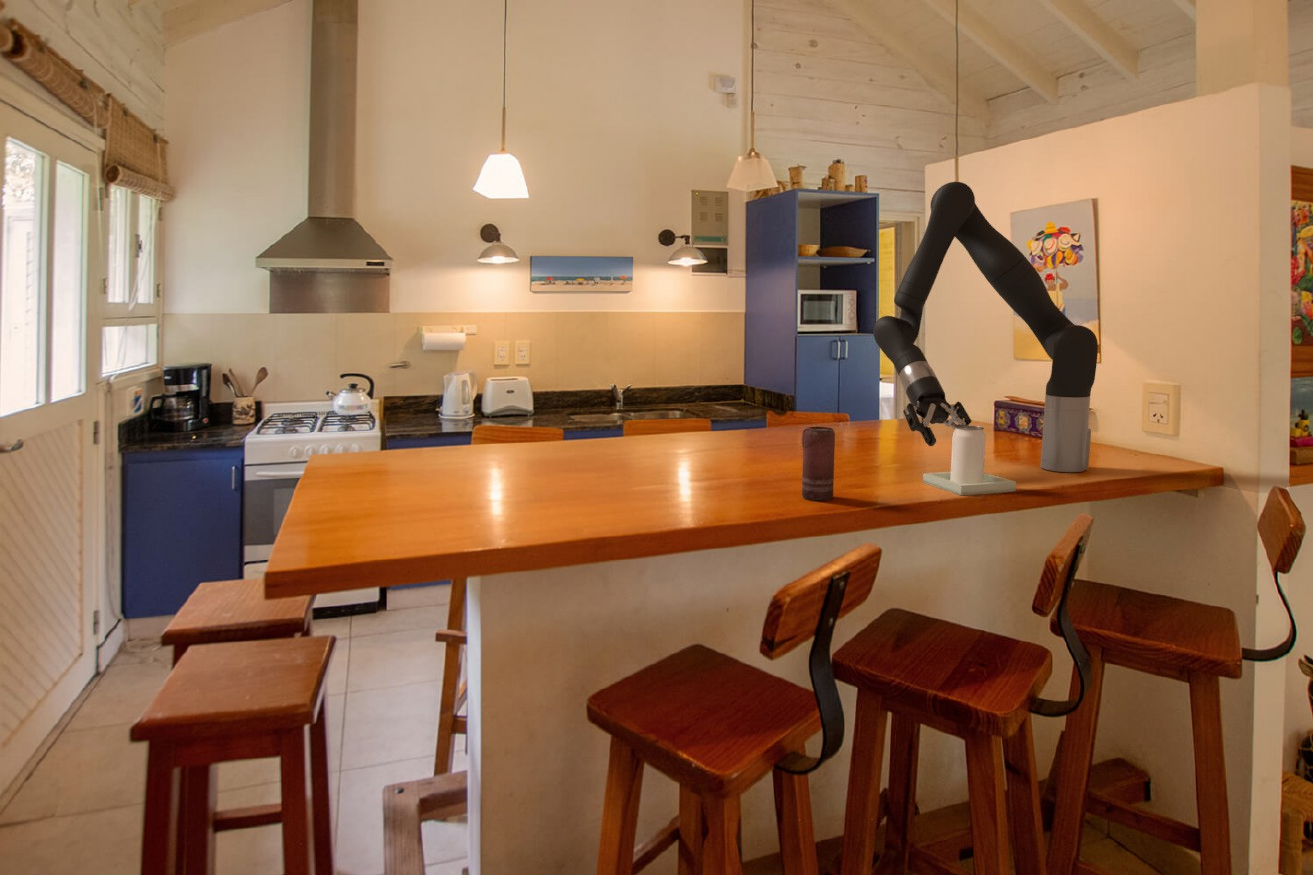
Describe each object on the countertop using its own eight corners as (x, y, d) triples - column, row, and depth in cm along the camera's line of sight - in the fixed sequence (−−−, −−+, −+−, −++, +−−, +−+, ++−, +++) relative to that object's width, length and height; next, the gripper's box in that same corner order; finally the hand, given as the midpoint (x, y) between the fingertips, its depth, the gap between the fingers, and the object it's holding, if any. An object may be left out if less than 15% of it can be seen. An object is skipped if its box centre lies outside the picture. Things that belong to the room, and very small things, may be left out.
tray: (974, 478, 179) (975, 470, 179) (1015, 491, 167) (1016, 481, 166) (922, 482, 176) (923, 473, 175) (960, 495, 163) (961, 485, 163)
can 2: (977, 481, 174) (980, 425, 172) (987, 487, 168) (990, 429, 166) (946, 480, 174) (949, 425, 173) (954, 487, 168) (957, 429, 166)
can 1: (797, 494, 164) (798, 426, 162) (828, 494, 165) (829, 425, 163) (805, 501, 158) (806, 430, 156) (837, 501, 159) (839, 430, 157)
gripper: (901, 375, 180) (929, 434, 171) (956, 374, 184) (987, 431, 175) (887, 397, 186) (913, 455, 177) (940, 395, 190) (969, 451, 181)
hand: (950, 443), depth 176 cm, fingers open, 8 cm apart
